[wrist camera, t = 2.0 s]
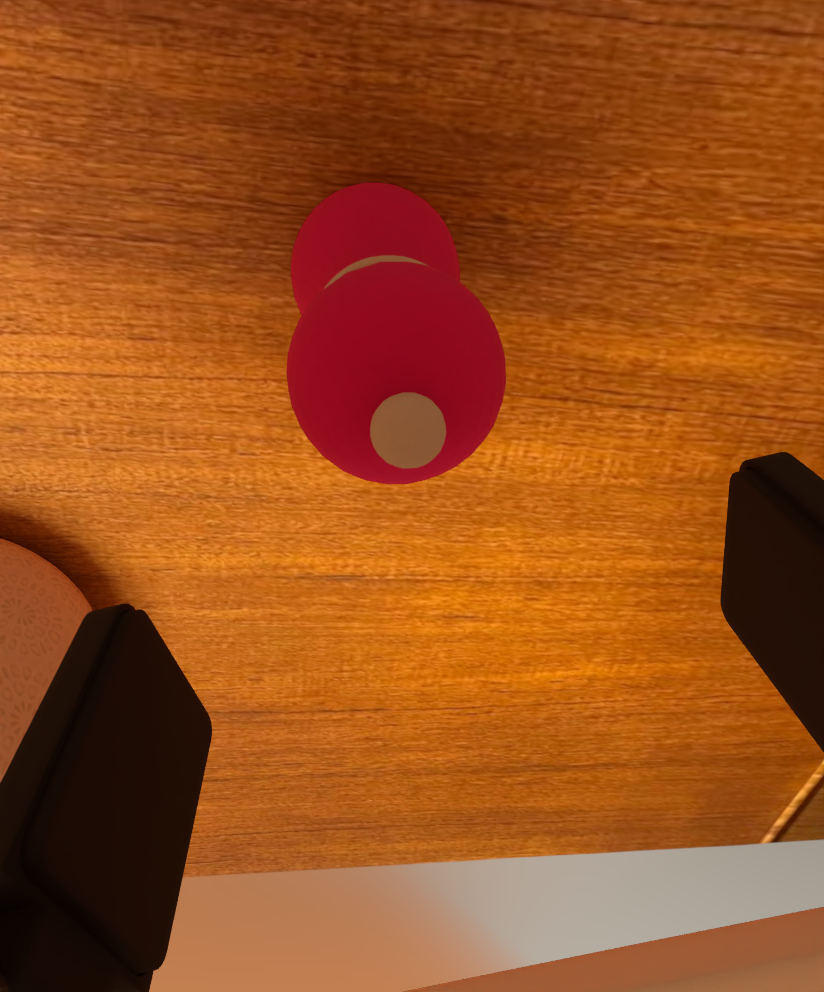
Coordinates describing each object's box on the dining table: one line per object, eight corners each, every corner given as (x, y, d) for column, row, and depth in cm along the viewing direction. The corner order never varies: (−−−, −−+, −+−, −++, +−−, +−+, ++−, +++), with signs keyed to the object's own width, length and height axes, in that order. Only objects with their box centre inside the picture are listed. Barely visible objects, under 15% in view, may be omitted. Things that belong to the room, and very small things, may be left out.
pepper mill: (411, 143, 28) (519, 215, 11) (464, 292, 32) (603, 510, 15) (268, 212, 29) (174, 372, 12) (337, 349, 33) (336, 612, 16)
